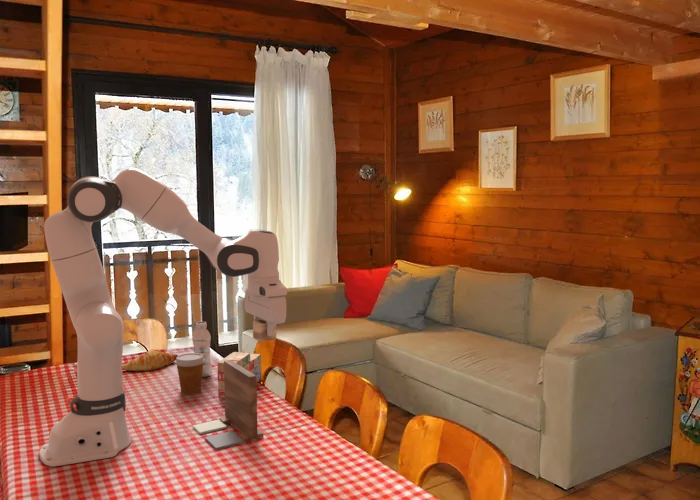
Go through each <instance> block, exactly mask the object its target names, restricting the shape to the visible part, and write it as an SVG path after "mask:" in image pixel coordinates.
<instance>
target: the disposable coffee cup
mask: <svg viewBox="0 0 700 500" xmlns="http://www.w3.org/2000/svg"><path fill="white" fill-rule="evenodd" d="M203 362H204V358H203V355H202V354H199V353H194V352H189V353H188V352H187V353H183V354H179V355H178V356H177V358H176V360H175V361H174V363H175V364H176V368H177V373H178V380H179V381H178V382H179V386H180V393H182V394H184V395H194V394H195V395H196V394H198V393H200V392H201V388H202V378H203V377H202V369H203Z"/></svg>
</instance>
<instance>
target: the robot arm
mask: <svg viewBox="0 0 700 500" xmlns="http://www.w3.org/2000/svg"><path fill="white" fill-rule="evenodd" d="M66 200H67V201H66V202H67V206H66V207H65V208H64V209H63V210H60V211H56V212H54V213H52V214H51V215H49V216H48V217H47V218H46V219H45V221H44V224H43V231H44V236H45V237H44V238H45V242H46V243H45V244H46V247H47V251H48V254H49V258H50V261H51V264H52V266H53V270H54V273H55V274H56V278H57V282H58V283H59V286H60V289H61V292H62V293H61V294H62V295H63V299H64V301H65V305H66V307H67V311H68V314H69V316H70V320H71V323H72V325H73V328H74V330H75V333H76V337H77V338H76V339H77V362H76V377H77V378H76V379H77V390H78V391H77V392H78V393H77V396H75V397H74V396H73V395H68V396H67V397H66V398H65V401H66V403H67V405H69V406H70V411H69V412H68V413H67V414H66V415H65V416H64V417H63V418H62V419H60V420H59V421H58V422H57V423H55V424H54V425H53V426H52V428H51V429H50V432H49V435H48V436H49V437H48V443H45V444H43V445H42V446H41V447H40V449H39V453H38V454H39V455H38V456H39V459H40V461H41V462H42V463H43V464H44V465H46V466H48V467H52V468H53V467H59V466H66V465H72V464H76V463H78V464H79V463H83V462H84V463H85V462H91V461H97V460H102V459H107V458H114V457H115V456H117V454H119V452H121V451H122V450H124V449H126V448H127V447H129V446H130V444H131V443H132V437H131V435H130V431H129V428H128V423H127V418H126V407H127V406H126V404H127V402H126V401H127V400H126V393H125V390H124V387H123V386H124V385H123V367H122V366H123V362H122V361H123V353H124V352H123V351H124V350H123V348H124V321H123V318H122V316H121V315H120V313H119V312H118V311H117V310H116V308H115V306H114V304H113V300H112V298H111V294H110V290H109V287H108V286H109V285H108V282H107V276H106V273H105V270H104V267H103V264H102V261H101V257H100V255H99V252H98V249H97V245H96V243H95V240H94V237H93V234H92V225H93V223H96V222H97V223H98V222H101V221H102V220H105V219H106V218H108V217H109V216H111V215H112V214H114V213H115V212H116V211H118V210H119V209H123V210H125V211H128V212H129V213H131V214H132V215H134V216H135V217H136V218H137V219H139V220H141V221H142V222H144V223H145V224H147V225H149V226H150V227H152V228H154V229H156V230H159V231H160V232H163V233H167V234H173V235H176V236H179V238H182V239H184V240H185V241H187V242H189V244H191V245H193V247H195V248H197V249H198V250H199V251H201V252H202V253H203V254H204V255H205V256H206V258H207V260H208V261H209V263H210V264H211V267H213V269H215V271H219V272H220V273H221V274H223V275H224V276H227V277H230V278H237V277H240V276H244V275H247V288H246V289H245V292H244V311H245V313H247V314H250V315H253V321H257V320H266V321H267V324H268V325H267V329H265V330H266V335H267V336H273V329H274V327H275V324H276V325H278V324H284V323H285V322H286V319H287V298H286V295H288V288H287V287H286V286H285V284H283V282H282V281H281V279H280V272H279V269H278V265H279V261H280V252H279V242H278V238H277V237H278V236H277V235H276V233H274V232H272V231H270V230H266V229H259V228H252V229H250V230H249V231H248V232H247V233H245V234H244V235H242V236H240V237H238V238H236V239H233V238H230V237H223V236H220V235H218V234H216V233H215V232H213V231H211V230H210V229H209V228H207V227H206V226H205V225H203V224H202V223H201V222H200V221H198V220H197V219H196V218H195V217H194V216H193V215H192V213H191V212H190V210H189V209H188V206H187V204H186V203H185V201H184V200H183V199H182V198H181V197H180V196H179V195H178V194H177V193H175V192H174V191H173V190H172V189H171V188H169V187H168V186H167V185H166V184H164V183H163V182H161V181H160V180H158V179H157V178H155V177H153V176H151V175H149V174H147V173H146V172H144V171H142V170H140V169H138V168H134V167H130V168H126V169H124V170H122V171H121V172H119V173H118V174H117V175H116V177H114V178H113V179H112V180H106V179H104V178H102V177H99V176H92V175H90V176H85V177H84V176H83V177H81V178H80V179H78V180H76V181H75V182H73V184H72V186H71V187H70V189H69V191H68V193H67V198H66Z"/></svg>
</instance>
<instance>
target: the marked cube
mask: <svg viewBox="0 0 700 500" xmlns="http://www.w3.org/2000/svg"><path fill="white" fill-rule="evenodd" d="M267 325H268V324H267V321H266V320H263V319H261V320H257V321H254V320H252V339H254V340H256V341H258V342H260V343H261V342H262V343H263V342H269V341H274V340H277V324H275V327H274V329H273V336H267V335H266V330H265V329H267Z"/></svg>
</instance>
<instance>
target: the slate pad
mask: <svg viewBox="0 0 700 500" xmlns="http://www.w3.org/2000/svg"><path fill="white" fill-rule="evenodd" d="M204 440H205V441H206V442H207V443H208V444H209V445H210V446H211V447H212V448H213V449H214V450H215V451H218V450H221V449H225V448H230V447H232V446H233V447H234V446H237V445H238V446H239V445H241V444H244V443H245V442H244V440H243V439H241V438H240V437H239V434H237V433H236V432H234V431H233V430H231V431H227V432H221V433H218V434H214V435H210V436H205V437H204Z"/></svg>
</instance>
